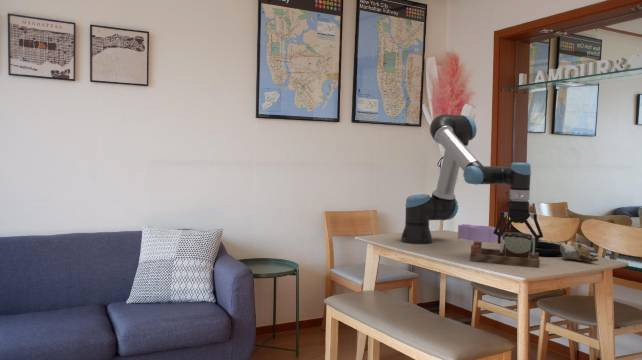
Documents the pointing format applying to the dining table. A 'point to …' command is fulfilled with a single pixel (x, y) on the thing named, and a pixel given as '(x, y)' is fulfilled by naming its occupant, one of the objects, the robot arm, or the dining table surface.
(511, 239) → the food container
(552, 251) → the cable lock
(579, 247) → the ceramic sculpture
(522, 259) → the brown wooden tray
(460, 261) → the dining table surface
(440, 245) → the dining table surface
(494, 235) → the purple block
